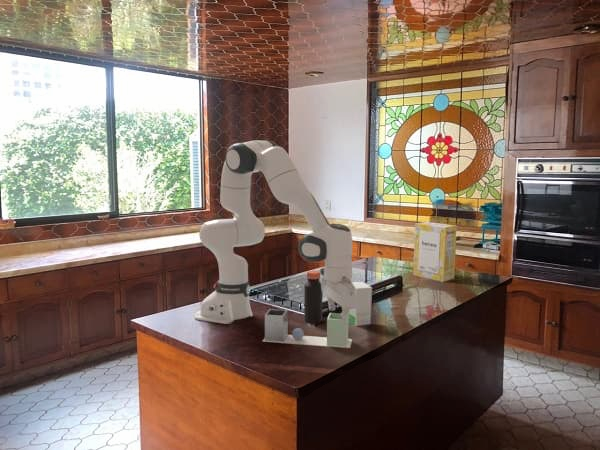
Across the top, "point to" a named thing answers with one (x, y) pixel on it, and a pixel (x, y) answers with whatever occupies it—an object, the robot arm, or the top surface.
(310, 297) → the bottle
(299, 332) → the ball slate
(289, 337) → the board
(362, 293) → the skincare box
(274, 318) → the tube grey
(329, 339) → the tube sage
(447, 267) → the pasta box
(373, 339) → the top surface
